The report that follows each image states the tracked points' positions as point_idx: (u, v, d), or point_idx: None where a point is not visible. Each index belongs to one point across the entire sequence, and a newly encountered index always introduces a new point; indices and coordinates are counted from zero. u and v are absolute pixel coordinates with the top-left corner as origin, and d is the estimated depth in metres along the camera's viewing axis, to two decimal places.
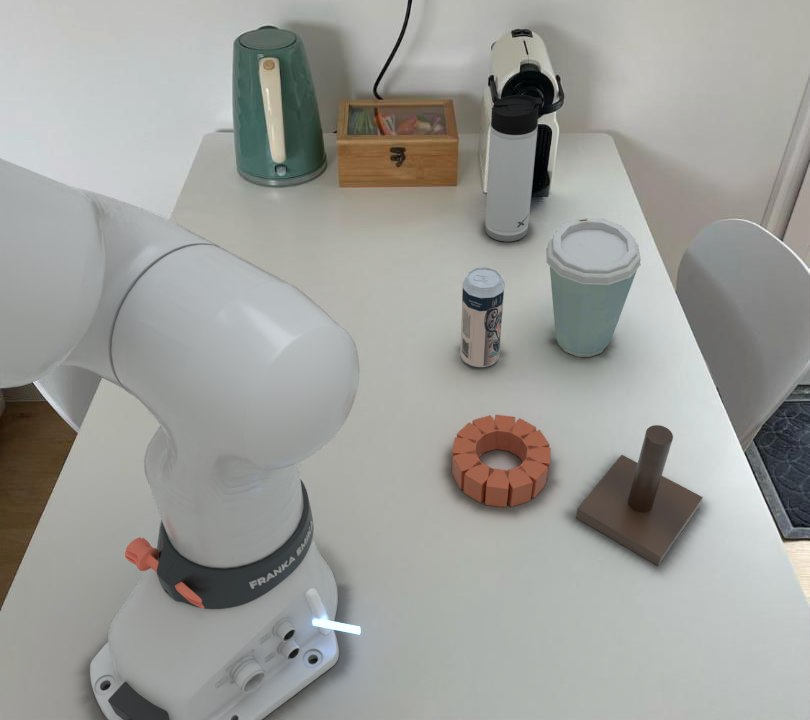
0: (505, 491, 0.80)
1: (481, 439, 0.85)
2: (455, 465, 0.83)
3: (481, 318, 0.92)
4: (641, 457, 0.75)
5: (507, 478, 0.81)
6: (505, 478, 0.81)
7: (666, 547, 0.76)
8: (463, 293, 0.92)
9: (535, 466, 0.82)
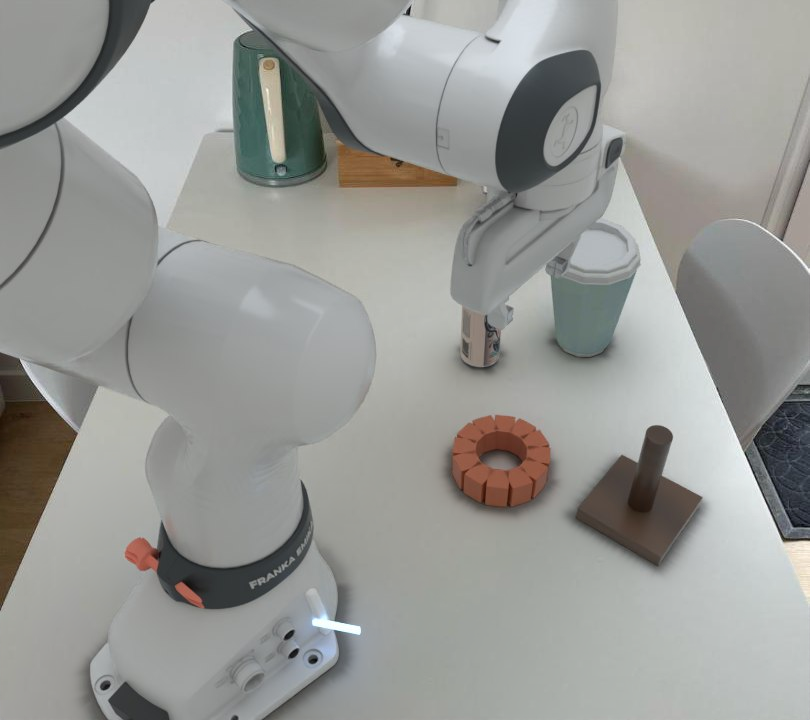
0: (505, 491, 0.80)
1: (481, 439, 0.85)
2: (455, 465, 0.83)
3: (481, 318, 0.92)
4: (641, 457, 0.75)
5: (507, 478, 0.81)
6: (505, 478, 0.81)
7: (666, 547, 0.76)
8: None
9: (535, 466, 0.82)
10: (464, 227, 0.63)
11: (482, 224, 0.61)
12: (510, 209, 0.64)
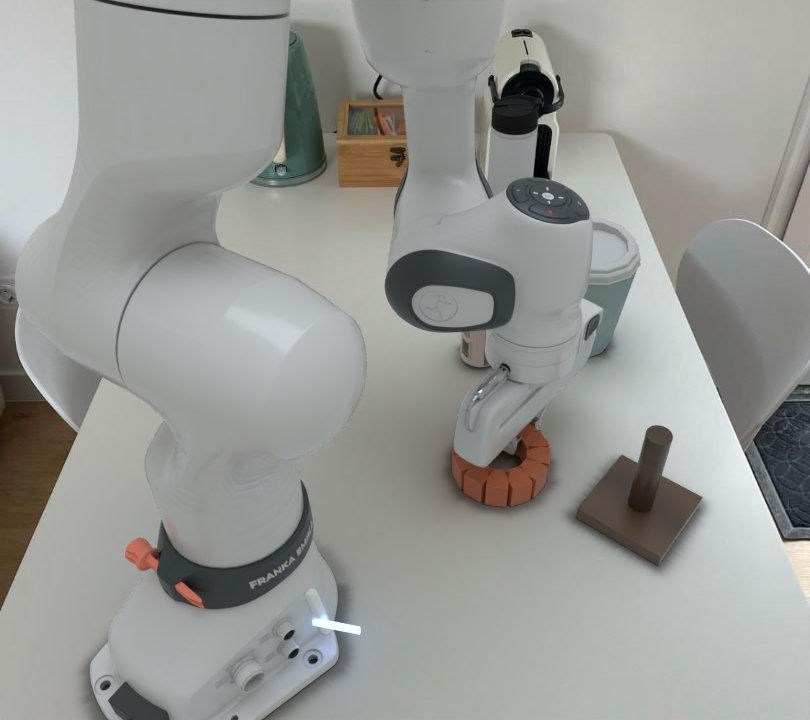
0: (505, 491, 0.80)
1: None
2: (455, 465, 0.83)
3: None
4: (641, 457, 0.75)
5: (507, 478, 0.81)
6: (505, 478, 0.81)
7: (666, 547, 0.76)
8: None
9: (535, 466, 0.82)
10: (466, 399, 0.75)
11: (481, 400, 0.73)
12: (504, 382, 0.76)
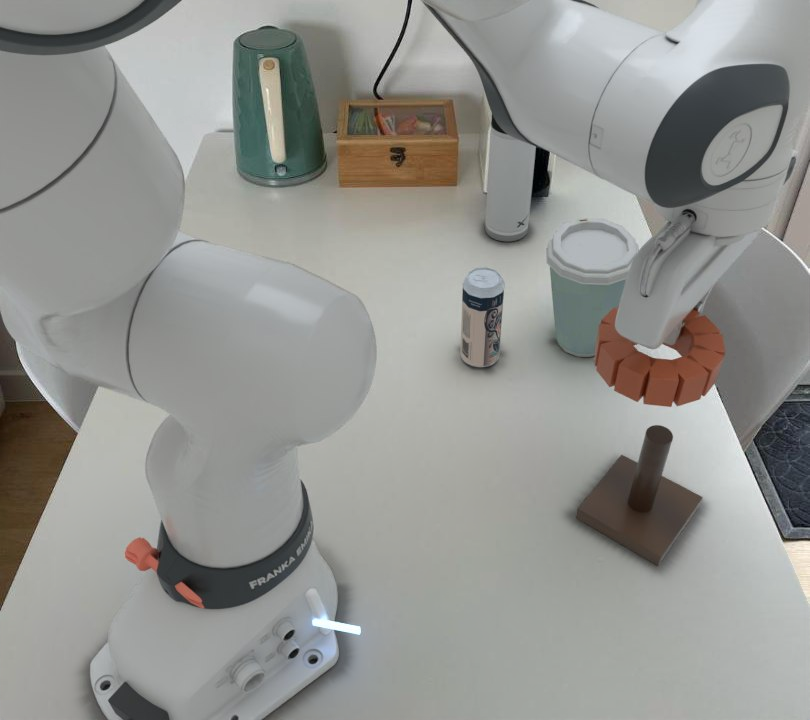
0: (674, 384, 0.63)
1: None
2: (604, 356, 0.66)
3: (481, 318, 0.92)
4: (641, 457, 0.75)
5: (675, 368, 0.64)
6: (672, 368, 0.64)
7: (666, 547, 0.76)
8: (463, 293, 0.92)
9: (708, 355, 0.65)
10: (640, 255, 0.58)
11: (664, 252, 0.56)
12: (687, 235, 0.59)
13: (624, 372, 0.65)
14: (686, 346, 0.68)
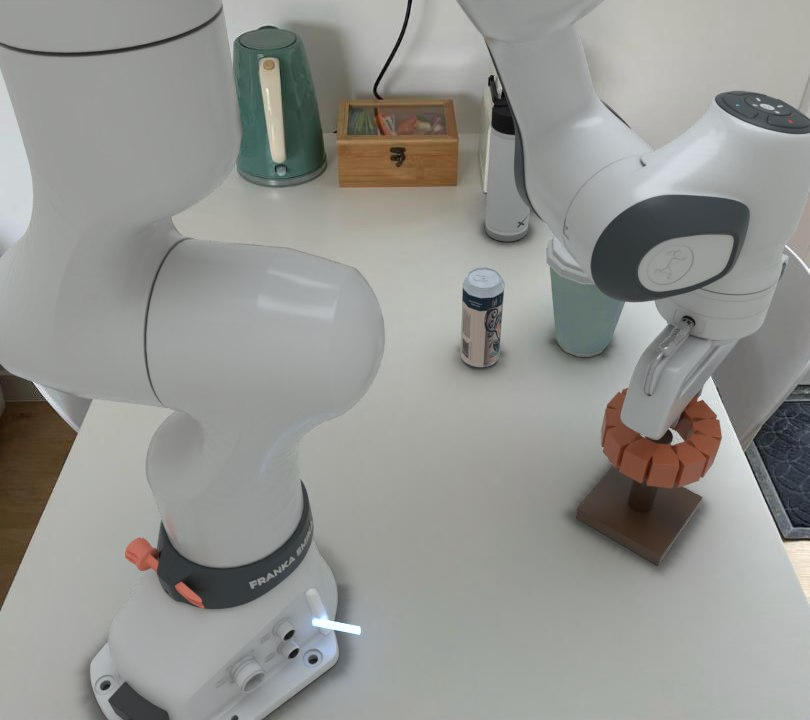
0: (675, 469, 0.69)
1: None
2: (610, 440, 0.72)
3: (481, 318, 0.92)
4: None
5: (676, 454, 0.70)
6: (673, 454, 0.70)
7: (666, 547, 0.76)
8: (463, 293, 0.92)
9: (706, 440, 0.71)
10: (644, 358, 0.63)
11: (666, 357, 0.62)
12: (686, 338, 0.64)
13: (629, 457, 0.70)
14: (686, 429, 0.74)
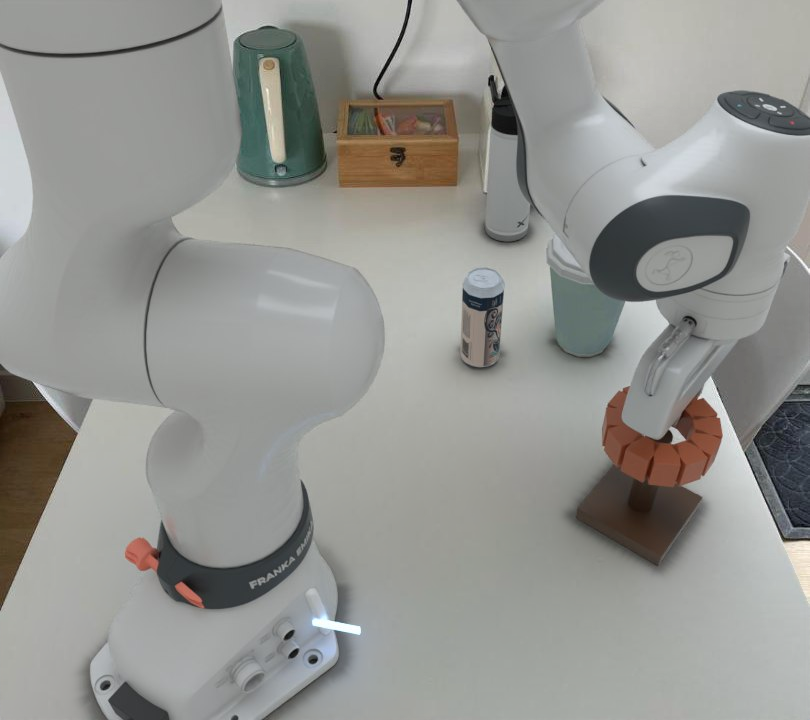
0: (676, 468, 0.69)
1: None
2: (611, 439, 0.72)
3: (481, 318, 0.92)
4: None
5: (677, 453, 0.70)
6: (674, 453, 0.70)
7: (666, 547, 0.76)
8: (463, 293, 0.92)
9: (707, 439, 0.71)
10: (645, 358, 0.63)
11: (667, 358, 0.62)
12: (688, 338, 0.64)
13: (630, 456, 0.70)
14: (686, 427, 0.74)
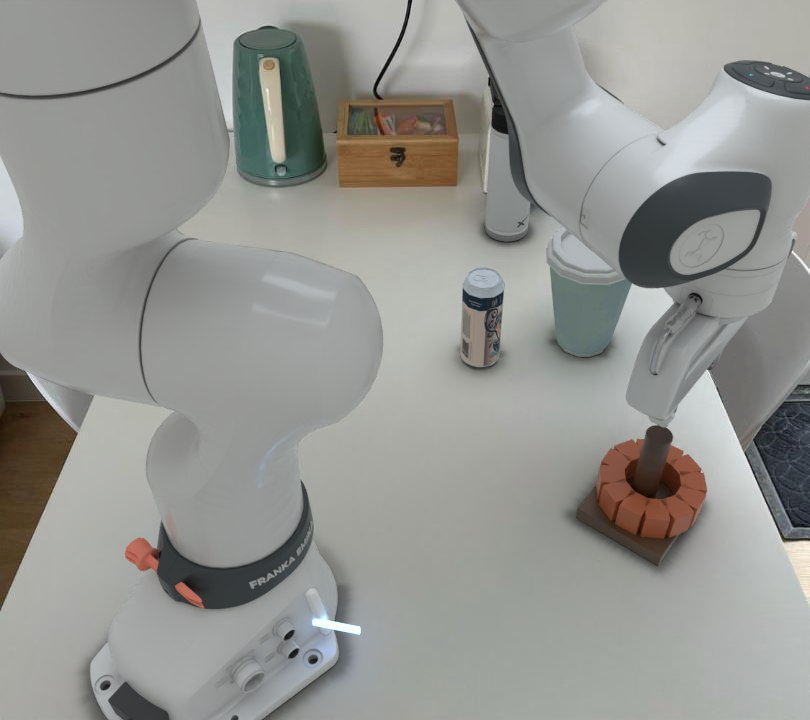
0: (666, 522, 0.75)
1: (628, 466, 0.80)
2: (605, 495, 0.78)
3: (481, 318, 0.92)
4: (641, 457, 0.75)
5: (666, 508, 0.76)
6: (664, 508, 0.76)
7: (666, 547, 0.76)
8: (463, 293, 0.92)
9: (693, 494, 0.77)
10: (650, 336, 0.62)
11: (672, 335, 0.60)
12: (693, 316, 0.63)
13: (624, 511, 0.77)
14: (673, 481, 0.80)
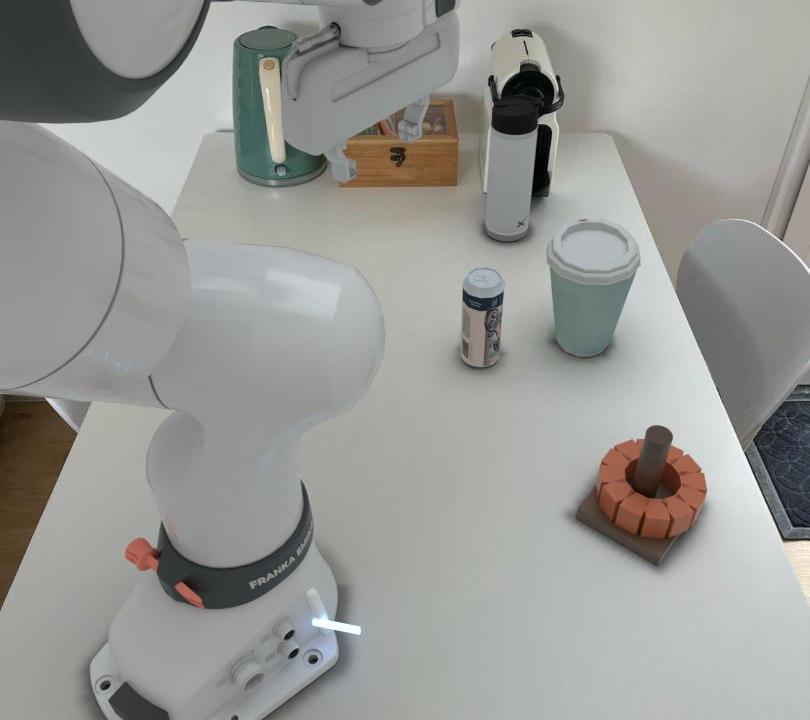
0: (666, 522, 0.75)
1: (628, 466, 0.80)
2: (605, 495, 0.78)
3: (481, 318, 0.92)
4: (641, 457, 0.75)
5: (666, 508, 0.76)
6: (664, 508, 0.76)
7: (666, 547, 0.76)
8: (463, 293, 0.92)
9: (693, 494, 0.77)
10: None
11: (302, 55, 0.63)
12: (335, 47, 0.65)
13: (624, 511, 0.77)
14: (673, 481, 0.80)
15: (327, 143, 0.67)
